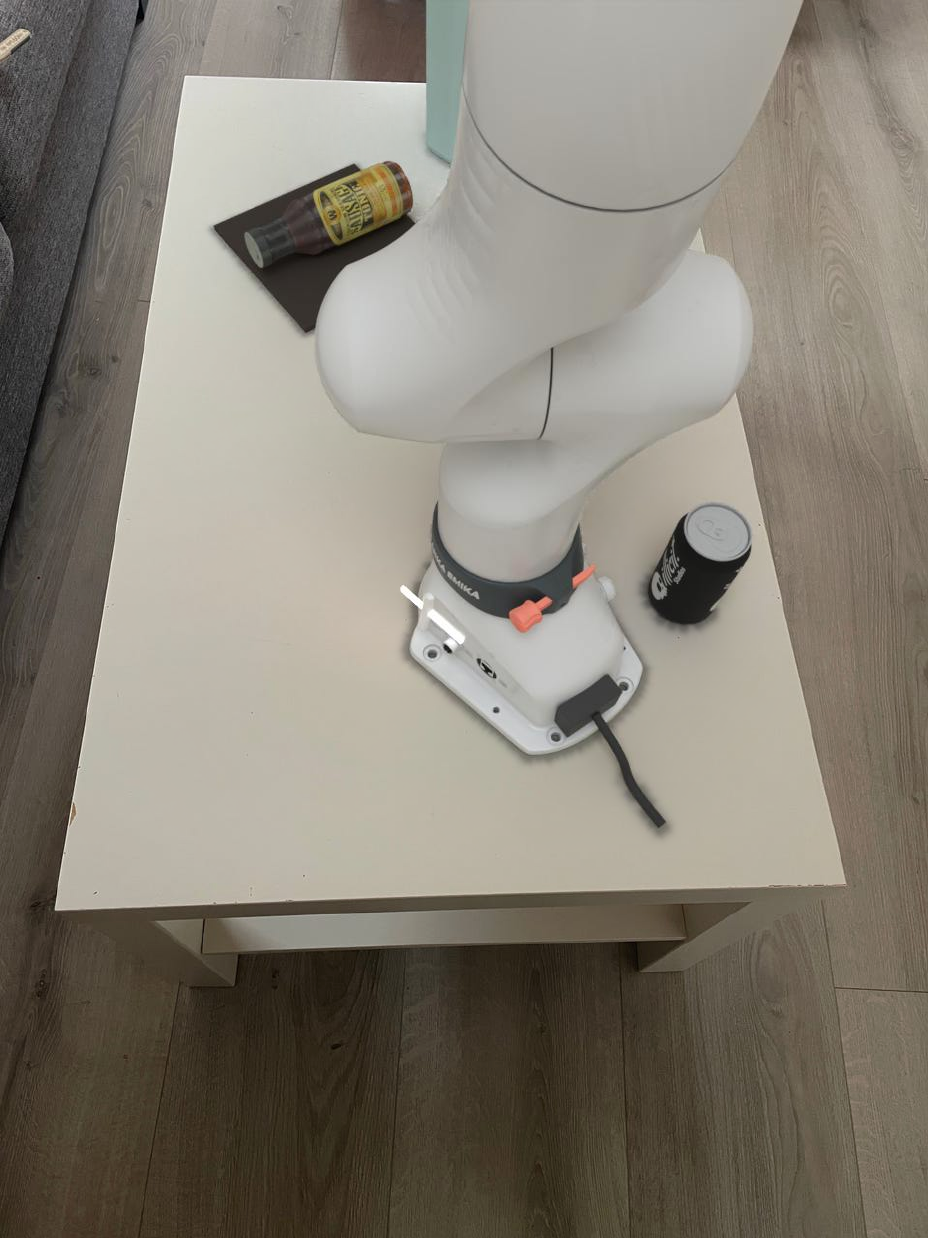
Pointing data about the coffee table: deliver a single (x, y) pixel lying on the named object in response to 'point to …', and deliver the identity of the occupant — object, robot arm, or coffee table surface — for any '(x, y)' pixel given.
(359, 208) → the sauce bottle
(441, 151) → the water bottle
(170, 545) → the coffee table surface
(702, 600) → the beverage can
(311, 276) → the mat
